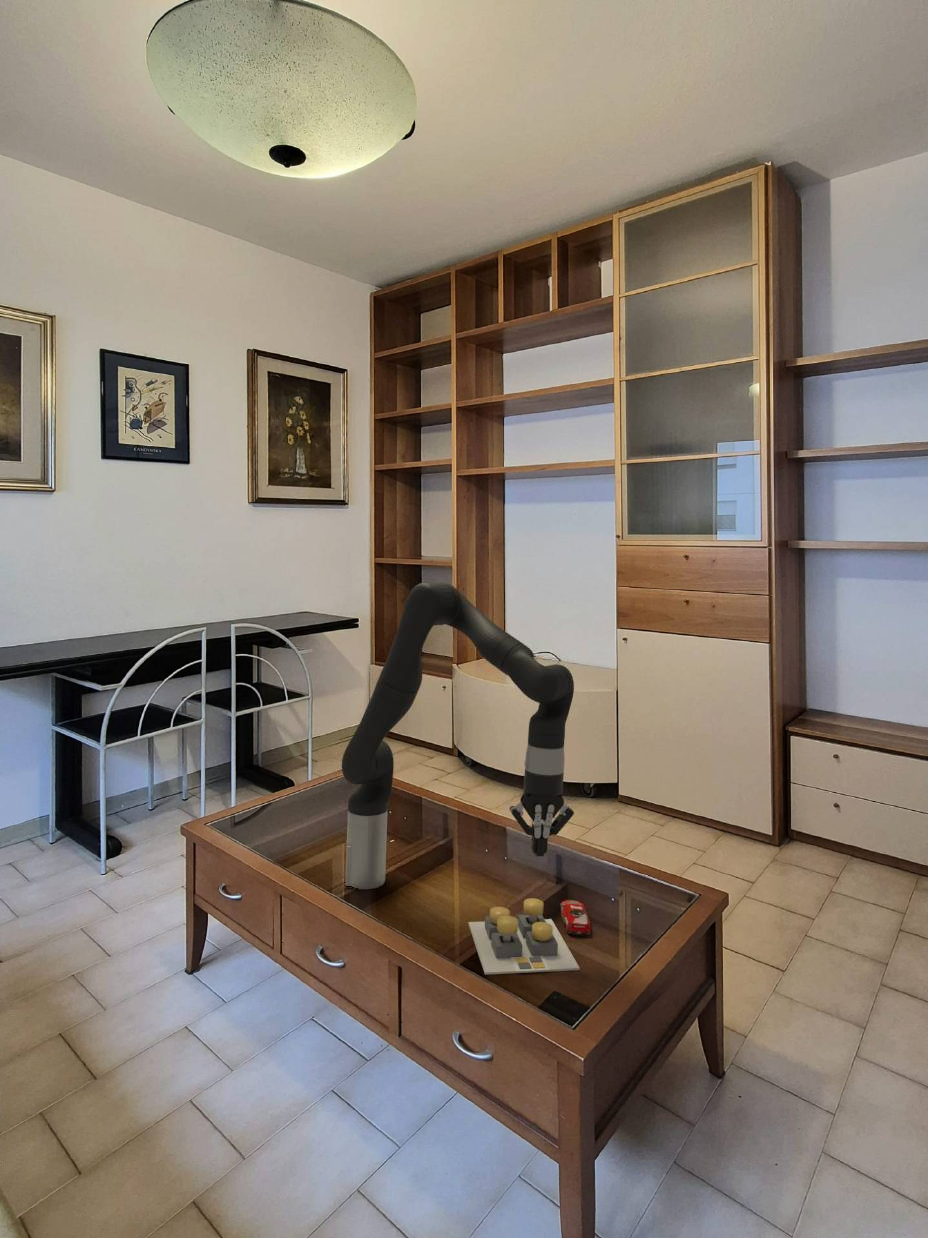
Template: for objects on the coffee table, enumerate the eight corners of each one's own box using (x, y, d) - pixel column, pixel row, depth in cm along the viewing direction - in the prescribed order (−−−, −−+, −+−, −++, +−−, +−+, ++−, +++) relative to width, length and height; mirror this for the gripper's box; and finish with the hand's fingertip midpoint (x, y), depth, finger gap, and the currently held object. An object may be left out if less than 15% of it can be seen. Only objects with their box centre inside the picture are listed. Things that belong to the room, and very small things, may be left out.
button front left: (498, 948, 134) (499, 926, 134) (494, 937, 138) (495, 916, 138) (519, 947, 135) (520, 925, 135) (514, 936, 139) (515, 915, 139)
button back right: (525, 928, 142) (526, 907, 142) (520, 919, 146) (521, 898, 146) (544, 927, 143) (545, 907, 143) (539, 918, 147) (540, 898, 147)
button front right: (533, 954, 136) (535, 932, 135) (528, 943, 140) (529, 922, 139) (554, 953, 136) (555, 931, 136) (548, 942, 140) (549, 921, 140)
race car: (558, 908, 157) (559, 891, 157) (582, 910, 157) (583, 892, 157) (565, 938, 144) (565, 919, 144) (591, 939, 144) (592, 920, 144)
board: (485, 976, 129) (485, 961, 128) (468, 924, 148) (468, 911, 148) (580, 971, 131) (581, 956, 131) (551, 921, 151) (552, 908, 150)
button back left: (491, 937, 141) (492, 916, 141) (487, 927, 145) (488, 907, 145) (510, 936, 142) (511, 915, 142) (506, 926, 146) (507, 906, 146)
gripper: (515, 773, 132) (509, 863, 133) (583, 773, 134) (577, 862, 135) (506, 762, 139) (501, 847, 141) (571, 762, 141) (565, 847, 143)
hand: (538, 854), depth 138 cm, fingers closed
